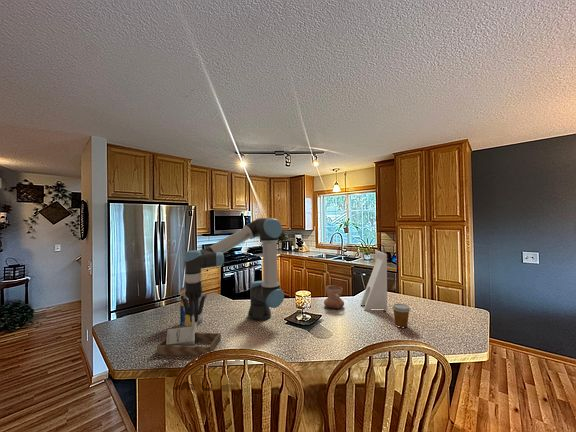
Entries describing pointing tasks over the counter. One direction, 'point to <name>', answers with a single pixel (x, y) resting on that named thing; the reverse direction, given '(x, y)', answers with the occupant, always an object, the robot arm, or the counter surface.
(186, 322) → the beverage box
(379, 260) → the grey tall wedge
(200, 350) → the frame
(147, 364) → the counter surface
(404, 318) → the disposable coffee cup
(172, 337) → the supplement box
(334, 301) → the ceramic jug
